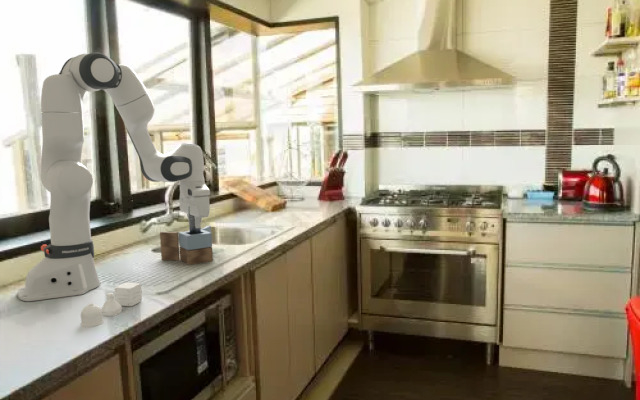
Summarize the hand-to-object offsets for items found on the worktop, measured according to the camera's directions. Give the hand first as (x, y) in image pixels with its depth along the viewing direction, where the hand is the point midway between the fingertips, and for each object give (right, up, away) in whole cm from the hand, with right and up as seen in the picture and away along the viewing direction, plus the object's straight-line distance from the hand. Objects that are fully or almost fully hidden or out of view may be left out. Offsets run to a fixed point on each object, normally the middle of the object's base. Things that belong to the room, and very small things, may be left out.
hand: (194, 226), depth 188 cm
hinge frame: (-4, -12, +2) cm, 13 cm away
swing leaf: (+1, -11, +5) cm, 13 cm away
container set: (-10, -20, -51) cm, 56 cm away
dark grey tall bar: (0, -5, +1) cm, 5 cm away
